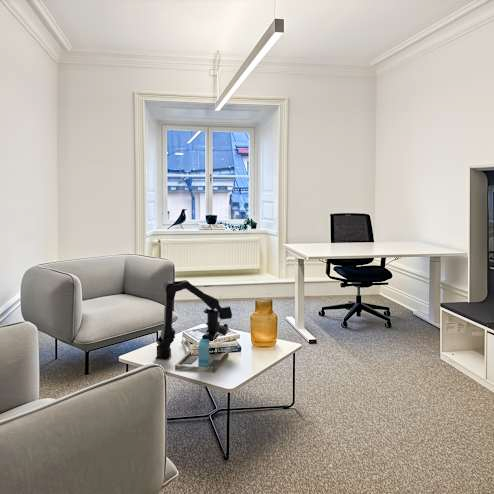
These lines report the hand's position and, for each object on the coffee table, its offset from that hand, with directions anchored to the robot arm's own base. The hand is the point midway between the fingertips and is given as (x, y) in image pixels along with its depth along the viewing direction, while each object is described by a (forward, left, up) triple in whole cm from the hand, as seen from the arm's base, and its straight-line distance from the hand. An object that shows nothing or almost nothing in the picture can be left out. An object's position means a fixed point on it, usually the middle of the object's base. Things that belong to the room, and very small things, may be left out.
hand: (212, 348), depth 255 cm
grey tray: (0, -17, -2) cm, 17 cm away
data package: (+2, -21, -2) cm, 21 cm away
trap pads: (0, -17, -2) cm, 17 cm away
